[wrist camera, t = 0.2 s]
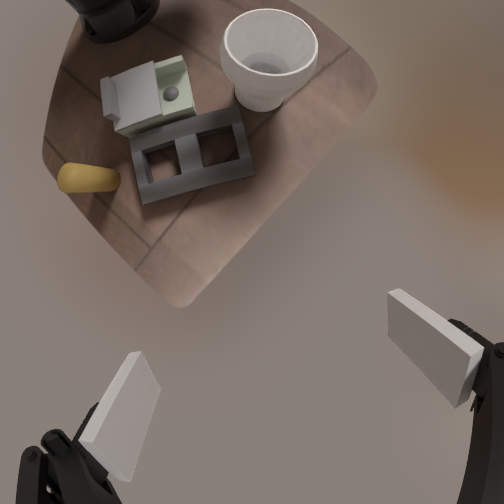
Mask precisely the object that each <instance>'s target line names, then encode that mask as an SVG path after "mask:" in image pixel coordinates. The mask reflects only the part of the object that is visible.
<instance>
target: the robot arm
mask: <svg viewBox="0 0 504 504" xmlns="http://www.w3.org/2000/svg"><path fill="white" fill-rule="evenodd" d="M66 1H67V2H68V3H69V4H70V5H71V6H72V7H73V8H74V9H75V10H76V11H77V12H78V13H79V17H80V21H81V24H82V28H83V31H84V33H85V34H86V35H87V36H88V37H89V38H90V39H91V40H92V41H94V42H97V43H109V42H113V41H117V40H120V39H122V38H125V37H127V36H129V35H130V34H132V33H134V32H136V31H137V30H139V29H140V28H141V27H143V26H144V25H145V24H146V23H147V22H148V21H149V20H150V19H151V18H152V17H153V16H154V14H155V13H156V11H157V9H158V7H159V4H160V0H66ZM387 298H388V336H389V337H390V338H391V339H392V341H393V342H395V344H396V345H397V346H398V347H399V348H400V349H401V350H402V351H403V352H404V353H405V354H406V355H407V356H408V357H409V358H410V359H411V360H412V362H413V363H414V364H415V365H416V366H417V367H418V368H419V369H420V370H421V371H422V372H423V373H424V374H425V375H426V376H427V378H429V380H430V381H431V382H432V383H433V384H434V385H435V386H436V387H437V389H438V390H439V391H440V392H441V393H442V394H443V395H444V396H445V397H446V398H447V400H448V401H449V402H450V403H451V404H452V405H453V406H454V408H457V407H458V406H460V405H461V404H463V403H464V402H466V401H467V400H468V399H469V396H470V394H471V391H472V390H473V391H474V392H475V393H476V396H475V399H474V401H473V404H472V406H471V409H470V411H472V410H473V408H474V418H473V427H472V436H471V443H470V449H469V455H468V461H467V466H466V471H465V475H464V479H463V483H462V487H461V491H460V494H459V498H458V501H457V504H504V342H501V343H496V344H495V345H494V344H492V343H491V342H490V341H488V340H487V339H485V338H484V337H482V336H481V335H480V334H478V333H477V332H474V331H473V330H472V329H471V328H468V326H467V325H465V324H464V323H462V322H461V321H457V320H454V319H450V320H448V321H447V320H445V319H444V318H443V317H441V316H440V315H438V314H437V313H435V312H434V311H432V310H431V309H429V308H428V307H426V306H425V305H424V304H422V303H421V302H419V301H417V300H416V299H415V298H413V297H412V296H410V295H408V294H407V293H406V292H404V291H402V290H401V289H399V288H398V289H395V290H393V291H390V292H387ZM160 392H161V388H160V387H159V385H158V383H157V381H156V379H155V377H154V375H153V373H152V371H151V369H150V367H149V365H148V363H147V361H146V359H145V357H144V355H143V353H142V351H137V352H130V353H129V354H128V356H127V358H126V359H125V361H124V363H123V364H122V366H121V367H120V369H119V371H118V372H117V374H116V376H115V378H114V379H113V381H112V382H111V384H110V386H109V387H108V389H107V391H106V392H105V394H104V396H103V397H102V400H101V401H100V402H97V403H96V404H95V405H94V406H93V407H92V408H91V409H90V410H89V412H88V414H87V416H86V418H85V419H84V421H83V424H81V426H80V428H79V429H78V431H77V433H76V435H75V436H74V438H73V440H72V442H71V440H70V439H69V438H68V437H67V436H66V435H65V434H64V432H63V431H62V430H60V429H53V430H50V431H48V432H47V433H46V434H45V435H44V436H43V437H42V439H41V445H42V446H43V447H44V448H45V450H46V451H47V452H48V454H44V453H43V451H42V450H41V449H40V448H39V447H37V446H31V447H28V448H27V449H25V451H24V452H23V454H22V456H21V462H20V468H19V475H18V483H17V493H16V504H122V503H121V501H120V499H119V497H118V496H117V493H116V492H115V490H114V488H113V486H112V484H111V482H110V481H109V480H108V479H107V475H108V473H110V474H111V475H112V476H113V477H114V478H115V479H116V480H121V481H128V482H131V479H132V476H133V473H134V470H135V466H136V464H137V460H138V457H139V454H140V451H141V447H142V445H143V441H144V438H145V435H146V432H147V429H148V426H149V423H150V420H151V417H152V415H153V412H154V409H155V406H156V403H157V400H158V397H159V394H160ZM46 486H48V487H49V488H50V489H51V492H50V493H49V492H48V491H47V490H46V488H47V487H46Z"/></svg>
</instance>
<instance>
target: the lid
mask: <svg viewBox="0 0 504 504" xmlns="http://www.w3.org/2000/svg"><path fill="white" fill-rule="evenodd" d="M100 85H101V97H102V107H103V116H104V117H105V118H107V119H109V120H111V121H113V124H114V131H115V132H119V131H121V130H124V129H126V128H129V127H131V126H134V125H137V124H139V123H142V122H145V121H147V120H150V119H153V118H156V117H159V116H162V115H163V111H162V106H161V100H160V95H159V89H158V83H157V77H156V71H155V64H154V62H153V61H150V62H148V63H145V64H142V65H140V66H137V67H134V68H132V69H129V70H127V71H125V72H122V73H120V74H118V75H115V76H113V77H111V78H109V77H108V76H107V77H105V78H103V79H100Z"/></svg>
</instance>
